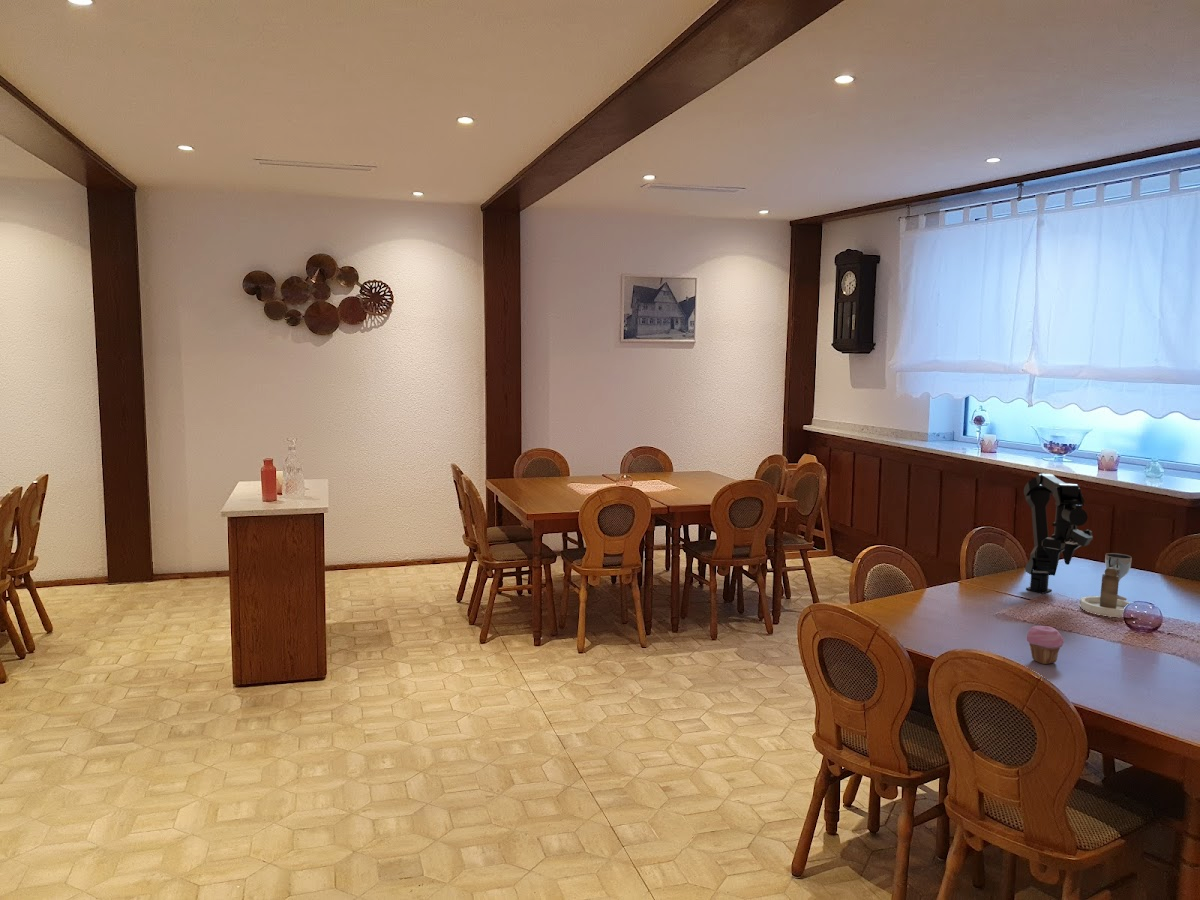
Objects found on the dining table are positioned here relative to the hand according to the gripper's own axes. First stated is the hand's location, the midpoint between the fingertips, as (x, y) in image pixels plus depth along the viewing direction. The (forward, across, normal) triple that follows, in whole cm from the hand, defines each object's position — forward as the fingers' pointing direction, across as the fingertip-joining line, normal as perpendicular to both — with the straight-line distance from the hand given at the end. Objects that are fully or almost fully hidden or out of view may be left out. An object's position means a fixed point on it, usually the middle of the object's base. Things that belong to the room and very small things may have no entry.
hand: (1061, 566), depth 295 cm
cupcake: (+14, -64, -24) cm, 70 cm away
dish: (+13, +5, -14) cm, 20 cm away
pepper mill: (+12, +5, -14) cm, 19 cm away
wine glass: (+13, +26, -8) cm, 30 cm away
